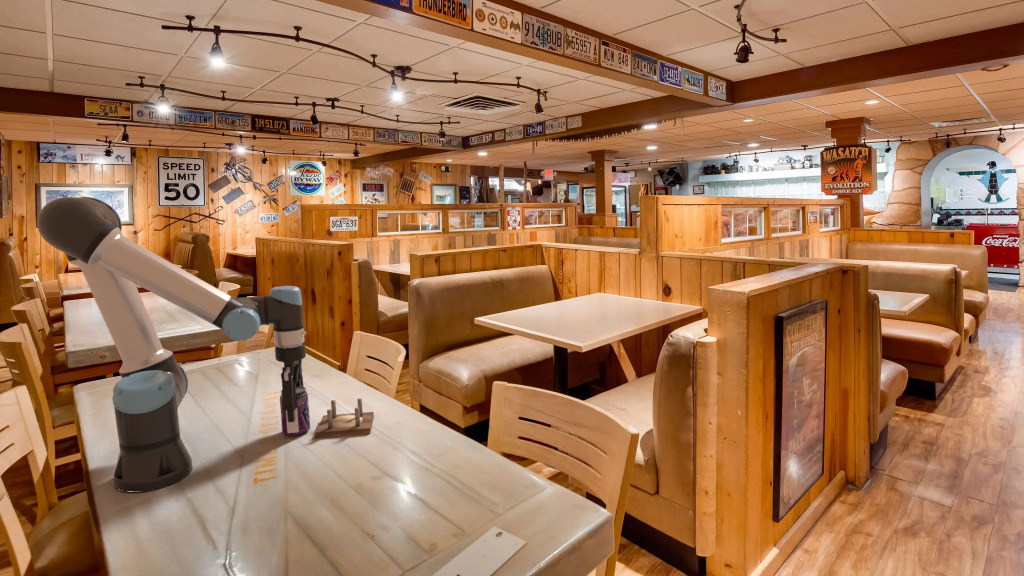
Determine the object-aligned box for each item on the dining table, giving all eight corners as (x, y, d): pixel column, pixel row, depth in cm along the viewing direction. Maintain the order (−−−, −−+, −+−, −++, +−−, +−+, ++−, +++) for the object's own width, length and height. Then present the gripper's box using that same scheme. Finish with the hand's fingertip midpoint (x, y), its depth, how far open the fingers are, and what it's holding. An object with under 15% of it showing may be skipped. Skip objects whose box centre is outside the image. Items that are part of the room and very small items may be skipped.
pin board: (370, 433, 151) (369, 410, 150) (316, 437, 148) (314, 414, 147) (373, 416, 162) (372, 395, 161) (323, 420, 160) (322, 398, 159)
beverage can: (301, 438, 148) (297, 394, 146) (277, 436, 150) (273, 393, 148) (315, 427, 155) (312, 386, 153) (292, 425, 156) (289, 384, 154)
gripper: (296, 353, 139) (303, 440, 143) (311, 334, 159) (316, 411, 162) (265, 355, 138) (272, 443, 142) (283, 336, 158) (289, 413, 161)
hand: (296, 426), depth 152 cm, fingers closed on beverage can, 7 cm apart
